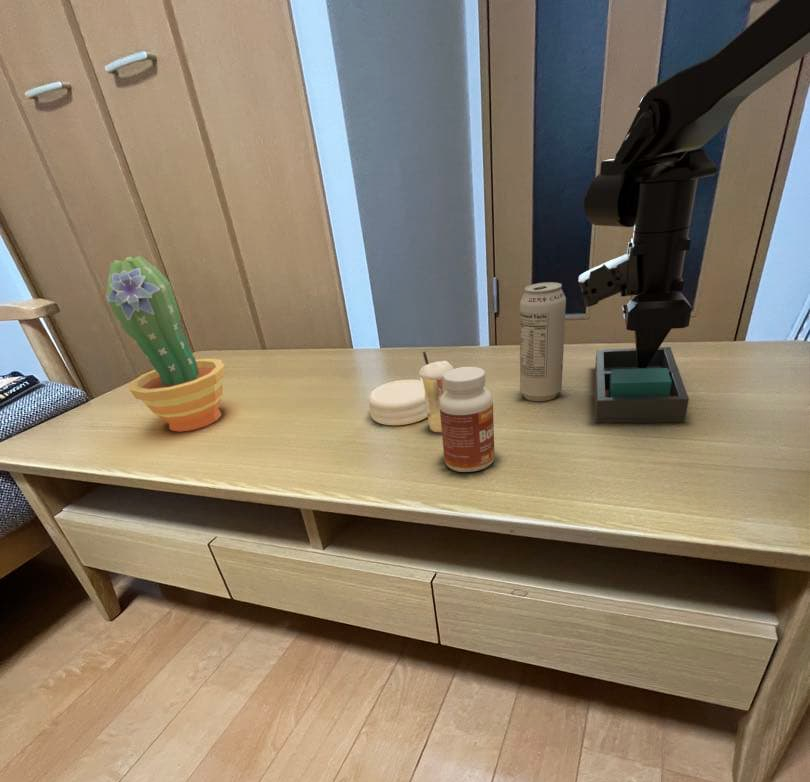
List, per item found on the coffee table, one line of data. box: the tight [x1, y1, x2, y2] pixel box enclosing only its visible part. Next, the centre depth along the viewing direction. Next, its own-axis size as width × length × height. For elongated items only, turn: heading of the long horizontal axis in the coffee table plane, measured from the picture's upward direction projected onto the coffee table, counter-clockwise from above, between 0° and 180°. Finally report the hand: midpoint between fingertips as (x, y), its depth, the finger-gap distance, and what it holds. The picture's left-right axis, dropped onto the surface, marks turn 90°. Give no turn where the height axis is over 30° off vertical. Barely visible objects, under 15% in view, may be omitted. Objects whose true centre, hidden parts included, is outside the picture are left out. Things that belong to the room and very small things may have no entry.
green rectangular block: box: [609, 368, 672, 397], centre depth 69 cm, size 7×5×4 cm
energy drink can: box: [519, 281, 567, 402], centre depth 73 cm, size 6×6×15 cm
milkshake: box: [418, 351, 455, 434], centre depth 70 cm, size 5×5×10 cm
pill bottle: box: [439, 366, 495, 473], centre depth 61 cm, size 6×6×11 cm
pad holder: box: [594, 346, 690, 424], centre depth 73 cm, size 20×10×3 cm, turn 164°
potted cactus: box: [105, 254, 226, 432], centre depth 81 cm, size 15×15×25 cm
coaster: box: [367, 379, 428, 426], centre depth 78 cm, size 10×10×4 cm
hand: (641, 367), depth 67 cm, fingers closed
